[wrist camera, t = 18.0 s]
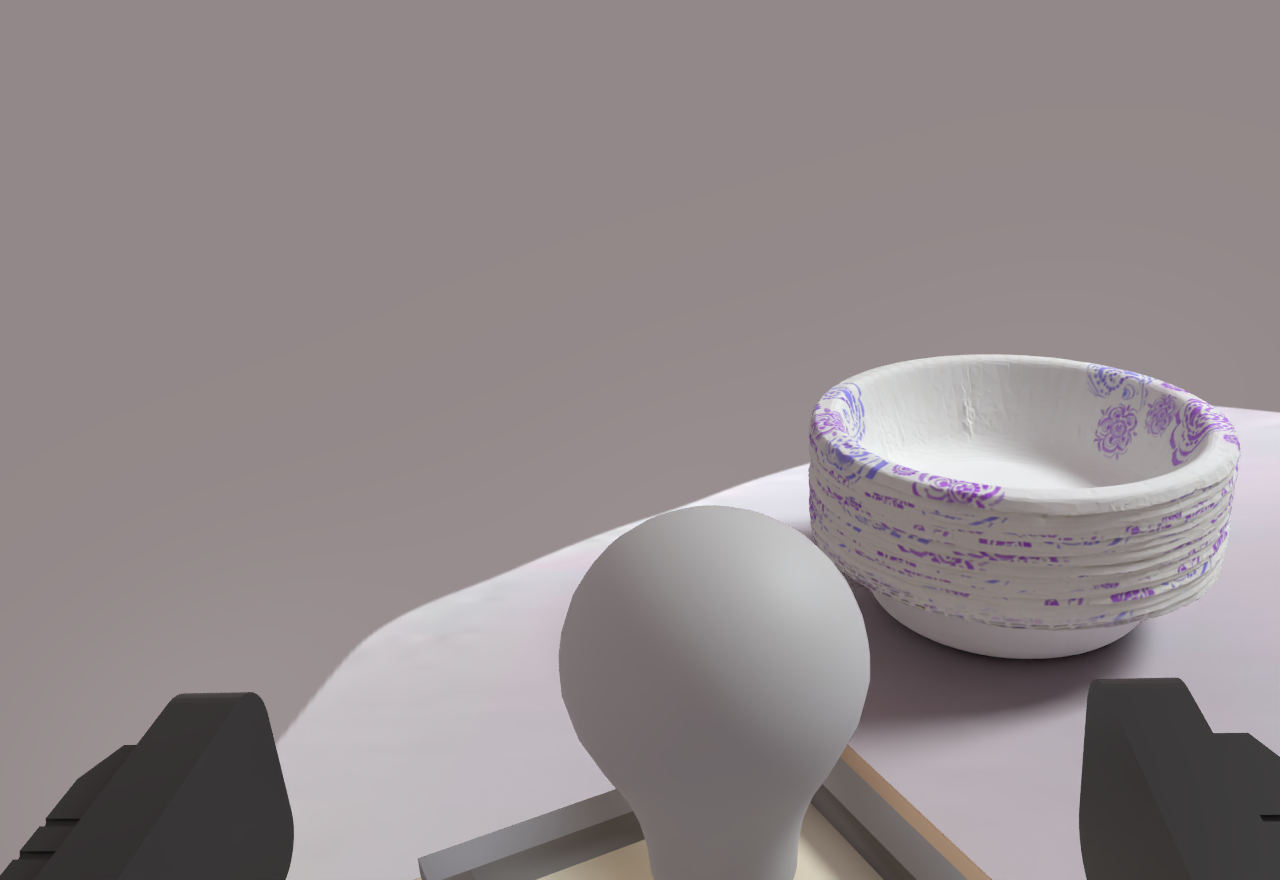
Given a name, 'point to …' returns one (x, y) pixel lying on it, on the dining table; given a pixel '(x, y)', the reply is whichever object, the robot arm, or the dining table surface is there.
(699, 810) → the lightbulb
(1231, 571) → the dining table surface
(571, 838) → the square tan tray
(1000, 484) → the paper bowls
